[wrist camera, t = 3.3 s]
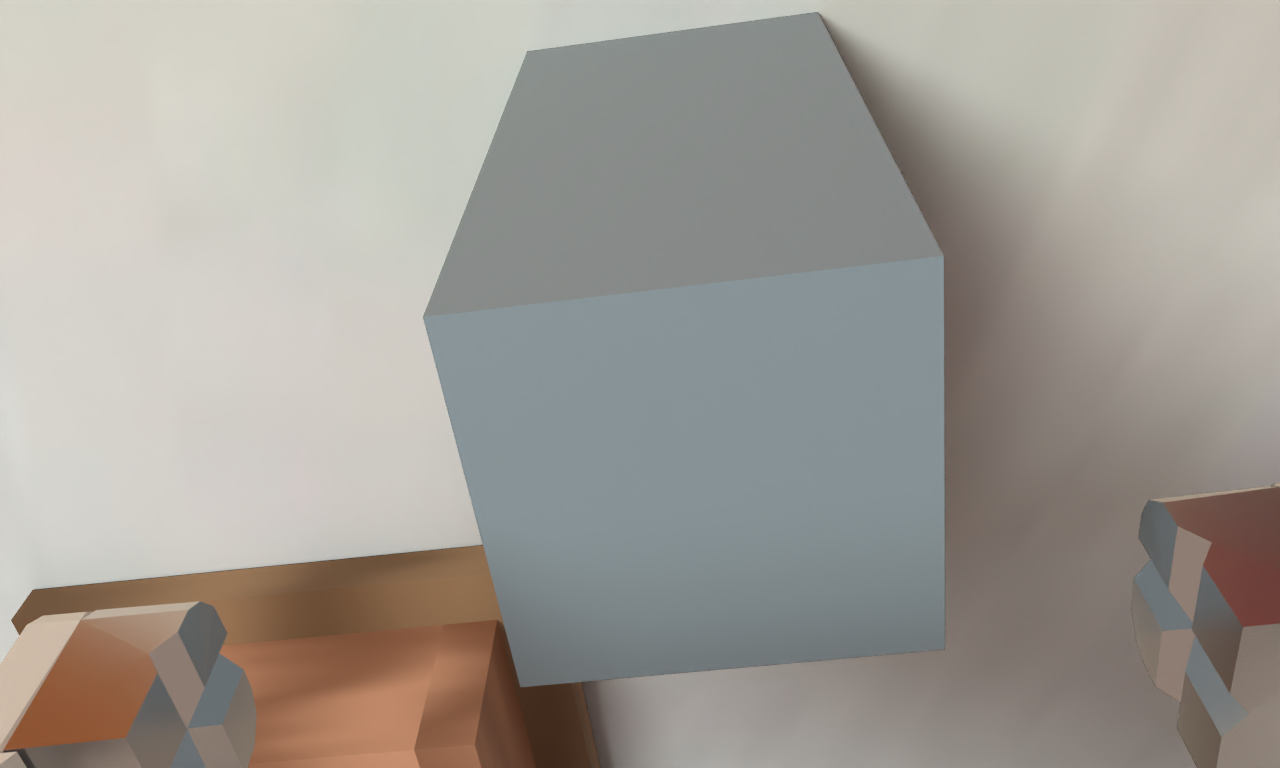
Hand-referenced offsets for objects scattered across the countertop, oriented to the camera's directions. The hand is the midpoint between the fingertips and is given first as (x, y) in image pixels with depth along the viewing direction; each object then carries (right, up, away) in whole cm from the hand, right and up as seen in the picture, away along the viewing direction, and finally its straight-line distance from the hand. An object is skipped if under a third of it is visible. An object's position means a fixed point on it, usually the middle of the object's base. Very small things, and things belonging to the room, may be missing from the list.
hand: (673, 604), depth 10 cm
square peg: (+1, +6, +11) cm, 12 cm away
